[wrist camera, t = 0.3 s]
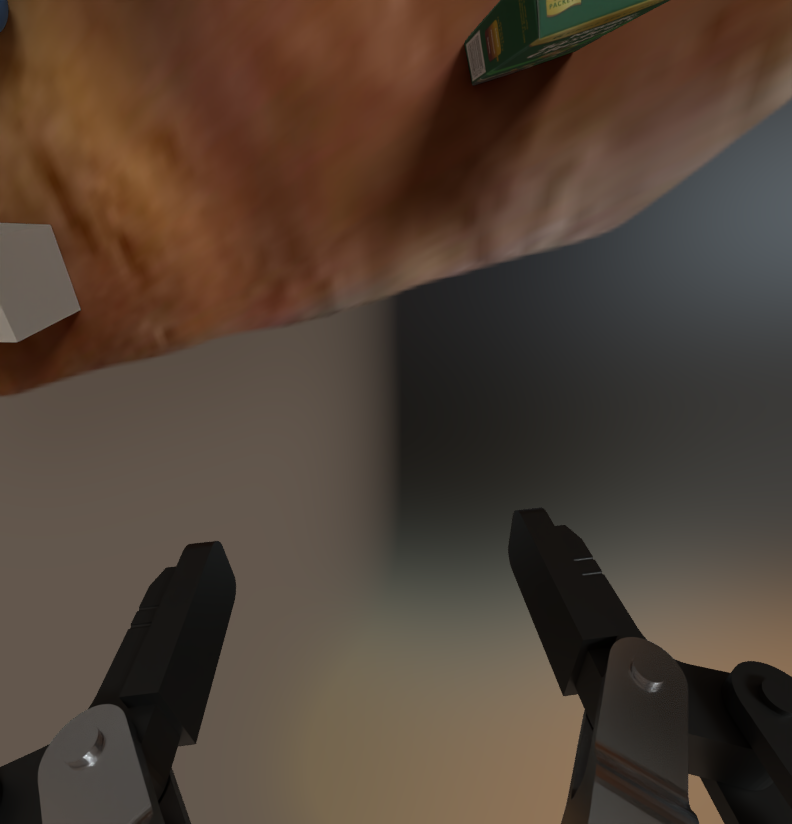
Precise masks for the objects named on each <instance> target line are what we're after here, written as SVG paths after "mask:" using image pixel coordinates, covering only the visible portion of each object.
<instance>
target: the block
mask: <svg viewBox="0 0 792 824" xmlns="http://www.w3.org/2000/svg"><path fill="white" fill-rule="evenodd" d="M80 310H81V309H80V306H79V303H78V300H77V297H76V295H75V292H74V289H73V286H72V283H71V281H70V278H69V275H68V272H67V269H66V267H65V264H64V261H63V258H62V255H61V253H60V250H59V247H58V244H57V241H56V239H55V236H54V233H53V230H52V227H51V225H42V224H17V223H0V342H19V341H21V340H23V339H25V338H27V337H29V336H31V335H33V334H35V333H37V332H39V331H41V330H43V329H45V328H47V327H49V326H50V325H52V324H54V323H56V322H58V321H60V320H62V319H64V318H66V317H68V316H70V315H72V314H74V313H76V312H78V311H80Z"/></svg>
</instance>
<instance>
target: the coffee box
mask: <svg viewBox="0 0 792 824" xmlns="http://www.w3.org/2000/svg"><path fill="white" fill-rule="evenodd" d="M668 1H669V0H500V1H499V2H498V4H497V5H496V6H495V7H494V8H493V9H492V10H491V12H490V13H489V14H488V15H487V16H486V17H485V18H484V19H483V20H482V22H481V23H480V24H479V25H478V26H477V28H476V29H475V30H474V31H473V32H472V33H471V34H470V36H469V37H468V38H467V40H466V41H465V43H464V45H465V50H466V55H467V60H468V65H469V71H470V75H471V81H472V85H473V86H474V85H477V84H480V83H484V82H487V81H490V80H493V79H496V78H499V77H503V76H506V75H508V74H511V73H516V72H518V71H520V70H523V69H526V68H529V67H532V66H535V65H537V64H540V63H543V62H546V61H550V60H552V59H555V58H557V57H560V56H563V55H566V54H569V53H572V52H575V51H577V50H579V49H580V48H582V47H584V46H586V45H587V44H589V43H591V42H593V41H595V40H597V39H599V38H600V37H602V36H603V35H605V34H607V33H609V32H611V31H613V30H615V29H617V28H619V27H620V26H622V25H624V24H626V23H628V22H630V21H632V20H633V19H635V18H637V17H639V16H641V15H643V14H645V13H647V12H649V11H650V10H652V9H654V8H656V7H658V6H660V5H662V4H664V3H666V2H668Z"/></svg>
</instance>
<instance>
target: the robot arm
mask: <svg viewBox="0 0 792 824" xmlns="http://www.w3.org/2000/svg"><path fill="white" fill-rule="evenodd" d="M508 553H509V560H510V565H511V568H512V571H513V573H514V576H515V578H516V581H517V583H518V586H519V588H520V590H521V593H522V595H523V598H524V600H525V603H526V605H527V608H528V610H529V612H530V615H531V618H532V620H533V623H534V625H535V628H536V630H537V632H538V635H539V637H540V640H541V642H542V645H543V647H544V650H545V652H546V654H547V657H548V660H549V662H550V664H551V667H552V669H553V672H554V674H555V677H556V679H557V682H558V684H559V687H560V689H561V691H562V694H563V696H568V695H576V694H578V695H579V697H580V699H581V702H582V704H583V706H584V708H585V711H584V714H583V720H582V725H581V731H580V735H579V741H578V746H577V751H576V757H575V762H574V768H573V773H572V779H571V783H570V789H569V794H568V799H567V803H566V808H565V811H564V815H563V818H562V822H561V824H699V821H698V818H697V816H696V814H695V813H694V812H693V811H692V810H691V808H690V805H689V798H688V774H691V775H695V776H699V777H700V778H701V780H702V782H703V784H704V786H705V788H706V789H707V791H708V793H709V795H710V797H711V799H712V801H713V803H714V805H715V806H716V808H717V810H718V812H719V814H720V816H721V818H722V820H723V822H724V823H725V824H792V677H791V676H789V675H788V674H786V673H785V672H783V671H781V670H779V669H777V668H775V667H773V666H770V665H768V664H764V663H761V662H755V661H747V662H742V663H740V664H738V665H737V666H736V667H735V668H734V669H733V671H732V672H731V673H728V672H723V671H718V670H714V669H708V668H704V667H699V666H694V665H690V664H686V663H683V662H680V661H677V660H675V659H673V658H672V657H671V656H670V655H669V654H668V653H667V652H666V651H665V650H663V649H662V648H661V647H659V646H658V645H656V644H654V643H652V642H650V641H648V640H647V639H646V638H645V637H644V636H643V635H642V634H641V632H640V631H639V629H638V628H637V626H636V625H635V623H634V621H633V620H632V618H631V617H630V615H629V613H628V612H627V610H626V609H625V607H624V606H623V604H622V602H621V601H620V599H619V598H618V596H617V594H616V593H615V591H614V590H613V588H612V586H611V585H610V584H609V582H608V580H607V579H606V577H605V575H603V574H602V571H601V569H600V567H599V566H598V564H597V563H596V561H595V560H593V556H592V555H591V553H590V552H589V550H588V548H587V547H586V545H585V543H584V542H583V540H582V539H581V538H580V537H579V536H577V535H576V534H575V533H574V532H573V531H571V530H570V529H569V528H568V527H567V526H565V525H560V526H554V524H553V522H552V521H551V519H550V517H549V516H548V514H547V512H546V511H545V510H544V509H543V508H532V509H523V510H515V511H514V513H513V518H512V525H511V532H510V539H509V546H508ZM235 595H236V582H235V577H234V574H233V571H232V569H231V567H230V564H229V561H228V559H227V556H226V554H225V551H224V549H223V546H222V544H221V543H220V542H219V541H214V542H204V543H195V544H189V545H187V546H186V547H185V549H184V551H183V553H182V555H181V557H180V559H179V562H178V564H177V566H176V567H168V568H165V570H164V571H163V572H162V573H161V574H160V575H159V576H158V577H157V578H156V579H155V581H154V582H153V583H152V584H151V585H150V586H149V588H148V590H147V592H146V594H145V597H144V598H143V600H142V602H141V604H140V607H139V611H137V613H136V615H135V617H134V619H133V621H132V623H131V628H130V629H128V631H127V633H126V635H125V637H124V640H123V642H122V644H121V646H120V648H119V650H118V652H117V654H116V656H115V658H114V660H113V662H112V664H111V666H110V668H109V671H108V673H107V675H106V677H105V679H104V681H103V683H102V685H101V687H100V689H99V691H98V693H97V695H96V697H95V699H94V701H93V703H92V704H91V705H90V707H89V708H88V710H86V711H84V712H82V713H81V714H79V715H78V716H76V717H75V718H74V719H73V720H71V721H70V722H69V723H68V724H66V725H65V726H64V727H63V728H62V730H60V732H59V733H58V734H57V735H56V736H55V738H54V739H53V740H52V741H51V743H50V744H49V745H47V746H45V747H43V748H41V749H39V750H37V751H35V752H32V753H30V754H28V755H26V756H24V757H21V758H19V759H17V760H15V761H13V762H10V763H8V764H6V765H4V766H2V767H0V824H191V822H190V819H189V816H188V813H187V810H186V807H185V804H184V801H183V799H182V795H181V793H180V790H179V787H178V784H177V781H176V778H175V775H174V772H173V770H172V768H171V767H172V763H173V761H174V757H175V754H176V750H177V747H178V746H185V745H192V744H196V741H197V738H198V734H199V730H200V726H201V723H202V719H203V715H204V712H205V708H206V704H207V700H208V697H209V693H210V690H211V686H212V682H213V679H214V675H215V671H216V667H217V664H218V660H219V656H220V653H221V649H222V645H223V642H224V638H225V634H226V630H227V627H228V623H229V619H230V615H231V612H232V608H233V604H234V600H235Z"/></svg>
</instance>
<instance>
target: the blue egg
mask: <svg viewBox="0 0 792 824" xmlns="http://www.w3.org/2000/svg"><path fill="white" fill-rule="evenodd" d="M7 19H8V1H7V0H0V32H1V31H2V30H3V29H4V27H5V25H6V23H7Z"/></svg>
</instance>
